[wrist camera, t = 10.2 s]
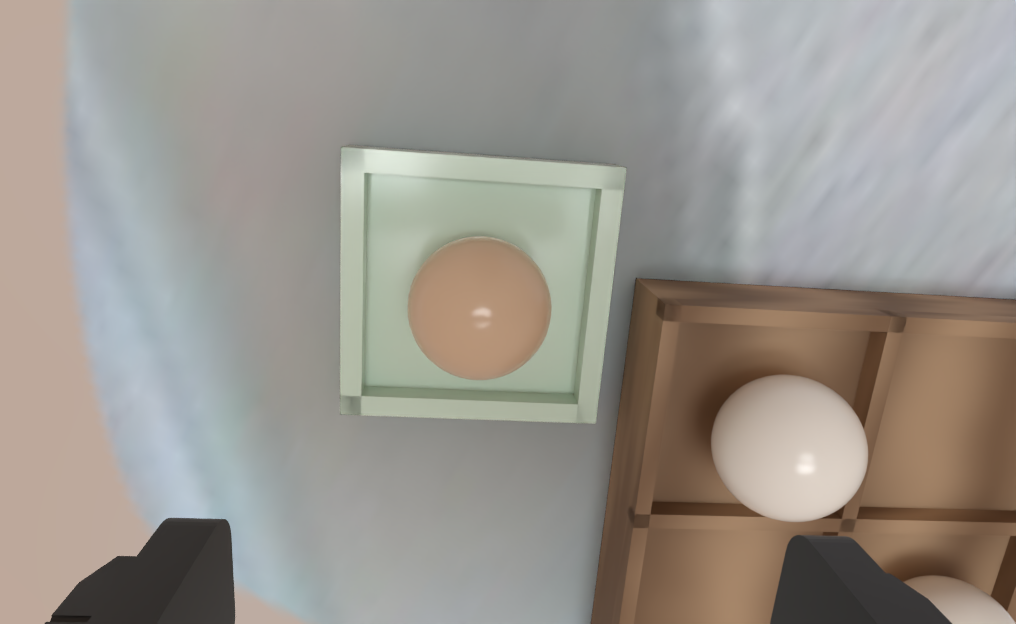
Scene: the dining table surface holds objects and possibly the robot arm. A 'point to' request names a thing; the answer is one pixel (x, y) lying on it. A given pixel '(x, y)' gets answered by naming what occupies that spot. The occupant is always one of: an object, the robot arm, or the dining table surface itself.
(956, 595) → the white egg
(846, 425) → the white egg
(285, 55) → the dining table surface
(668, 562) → the egg tray
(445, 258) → the brown egg
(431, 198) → the dish
